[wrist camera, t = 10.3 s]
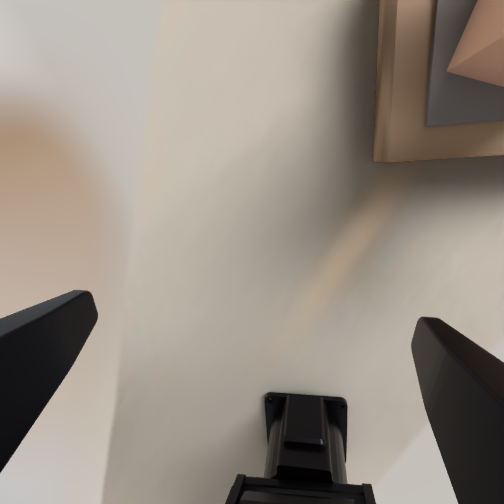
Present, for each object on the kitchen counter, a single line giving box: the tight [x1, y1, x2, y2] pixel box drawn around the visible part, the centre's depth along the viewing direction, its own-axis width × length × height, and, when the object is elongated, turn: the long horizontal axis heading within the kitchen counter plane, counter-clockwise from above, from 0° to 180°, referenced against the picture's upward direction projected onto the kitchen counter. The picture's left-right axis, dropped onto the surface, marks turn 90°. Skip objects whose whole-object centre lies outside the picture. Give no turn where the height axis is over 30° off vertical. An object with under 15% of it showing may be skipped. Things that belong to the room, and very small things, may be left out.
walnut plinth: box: [373, 0, 504, 163], centre depth 14 cm, size 10×10×4 cm
